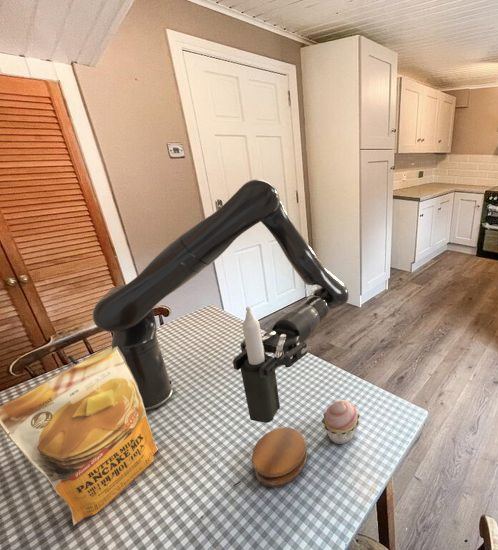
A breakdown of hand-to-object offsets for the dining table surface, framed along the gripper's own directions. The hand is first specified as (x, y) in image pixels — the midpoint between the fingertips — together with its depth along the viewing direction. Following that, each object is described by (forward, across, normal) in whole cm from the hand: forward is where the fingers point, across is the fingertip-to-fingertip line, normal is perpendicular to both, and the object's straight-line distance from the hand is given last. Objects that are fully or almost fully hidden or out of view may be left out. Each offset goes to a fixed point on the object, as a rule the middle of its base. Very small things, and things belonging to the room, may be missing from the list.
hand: (248, 369), depth 57 cm
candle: (-3, 0, +13) cm, 13 cm away
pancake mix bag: (+14, -26, +26) cm, 39 cm away
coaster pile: (-2, +3, +26) cm, 26 cm away
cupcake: (-13, +12, +26) cm, 32 cm away
